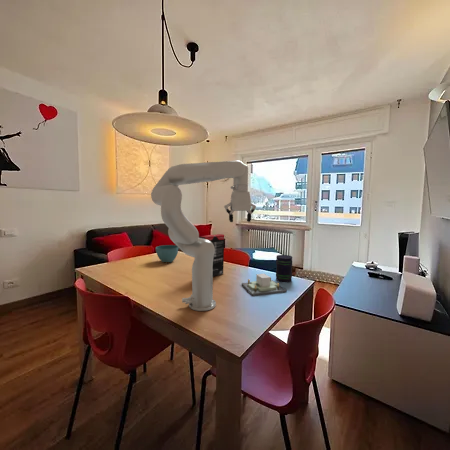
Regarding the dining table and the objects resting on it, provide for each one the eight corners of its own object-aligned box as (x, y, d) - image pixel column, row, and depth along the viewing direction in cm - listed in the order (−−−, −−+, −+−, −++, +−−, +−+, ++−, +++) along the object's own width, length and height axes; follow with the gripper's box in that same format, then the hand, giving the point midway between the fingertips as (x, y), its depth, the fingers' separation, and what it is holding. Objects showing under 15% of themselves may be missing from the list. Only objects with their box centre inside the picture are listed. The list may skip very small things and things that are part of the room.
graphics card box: (217, 271, 160) (217, 233, 157) (224, 274, 155) (224, 234, 152) (198, 277, 148) (198, 235, 145) (205, 279, 143) (205, 236, 140)
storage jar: (291, 278, 147) (292, 255, 146) (291, 283, 138) (292, 259, 136) (276, 276, 150) (276, 254, 149) (275, 281, 141) (275, 257, 139)
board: (255, 292, 121) (255, 280, 120) (245, 284, 132) (245, 273, 131) (281, 288, 126) (281, 277, 125) (270, 281, 137) (270, 271, 137)
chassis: (252, 295, 119) (252, 288, 118) (241, 285, 134) (241, 278, 134) (286, 291, 124) (286, 284, 124) (272, 282, 140) (272, 275, 139)
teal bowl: (151, 264, 180) (151, 248, 178) (161, 258, 197) (161, 244, 196) (173, 265, 177) (173, 249, 175) (181, 259, 194) (181, 245, 193)
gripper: (226, 188, 112) (226, 222, 113) (258, 188, 117) (258, 222, 118) (222, 188, 119) (222, 221, 121) (253, 189, 124) (252, 221, 125)
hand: (240, 221), depth 119 cm, fingers open, 9 cm apart
